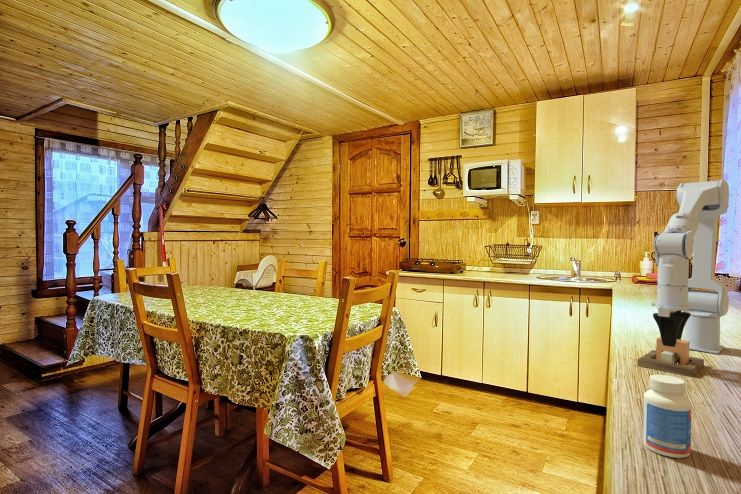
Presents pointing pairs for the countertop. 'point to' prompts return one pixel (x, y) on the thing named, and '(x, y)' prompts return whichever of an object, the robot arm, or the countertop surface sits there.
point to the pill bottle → (667, 417)
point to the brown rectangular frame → (671, 363)
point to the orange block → (674, 350)
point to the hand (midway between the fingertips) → (671, 344)
